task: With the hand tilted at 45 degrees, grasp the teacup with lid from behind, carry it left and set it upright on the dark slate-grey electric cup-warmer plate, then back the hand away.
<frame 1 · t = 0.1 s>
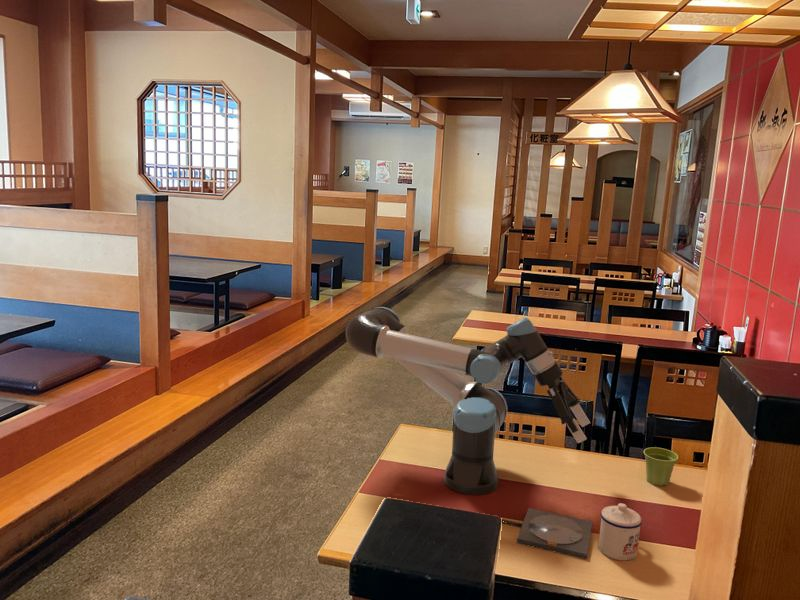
hand: (584, 432, 181), 15 cm above the table, tool tilted 35°, fingers open, 13 cm apart
teacup with lid: (619, 549, 151), on the table
cup warmer plate: (555, 534, 156), on the table
plant pot: (657, 482, 187), on the table
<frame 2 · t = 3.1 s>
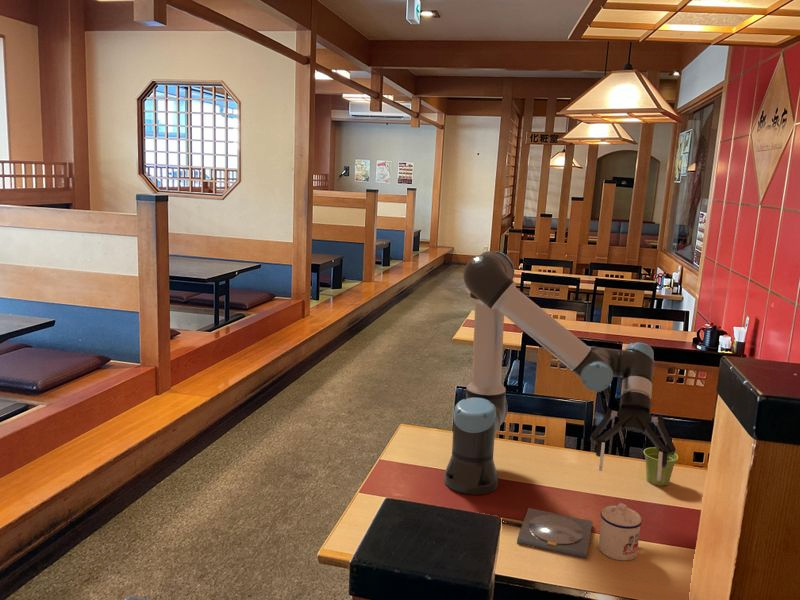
hand: (629, 473, 157), 15 cm above the table, tool tilted 45°, fingers open, 13 cm apart
nothing on the table moved.
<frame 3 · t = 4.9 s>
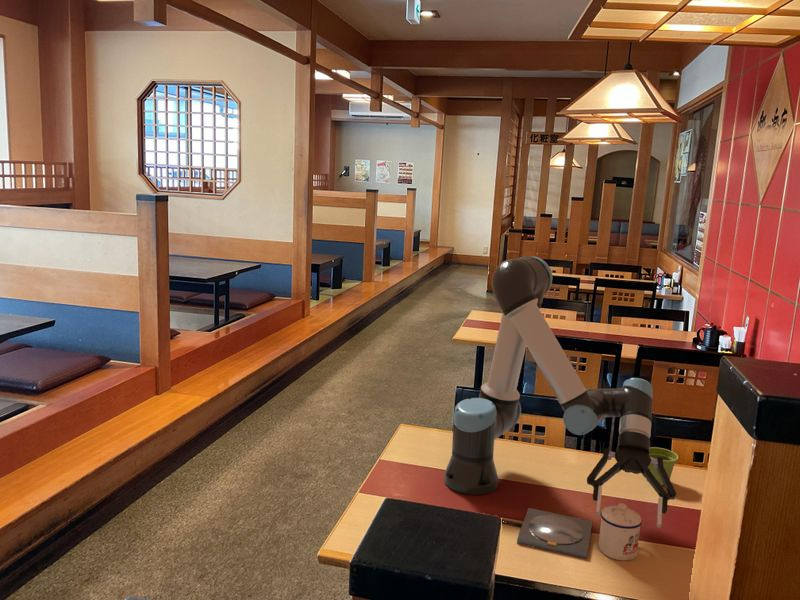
hand: (627, 520, 150), 7 cm above the table, tool tilted 45°, fingers open, 13 cm apart
nothing on the table moved.
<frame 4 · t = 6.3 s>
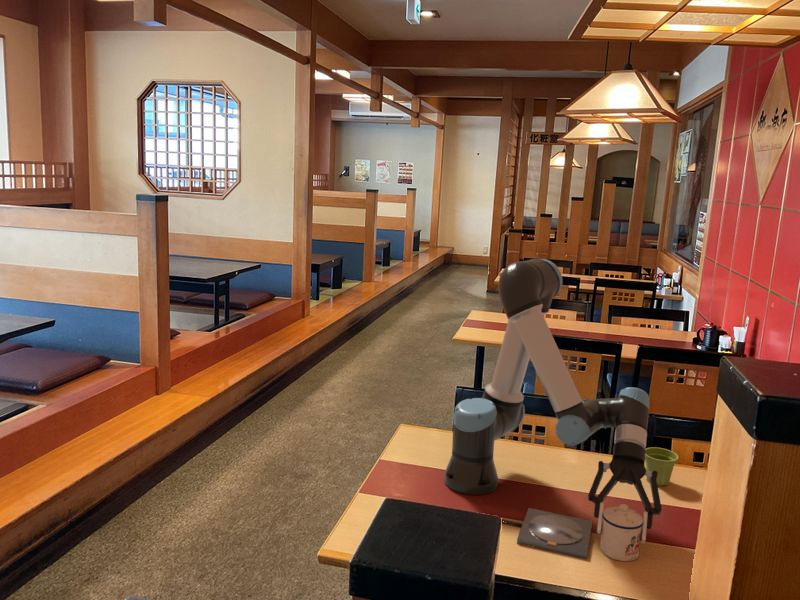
hand: (620, 536, 147), 5 cm above the table, tool tilted 45°, fingers closed on teacup with lid, 9 cm apart
teacup with lid: (621, 549, 151), on the table, touching gripper
everything else where it was.
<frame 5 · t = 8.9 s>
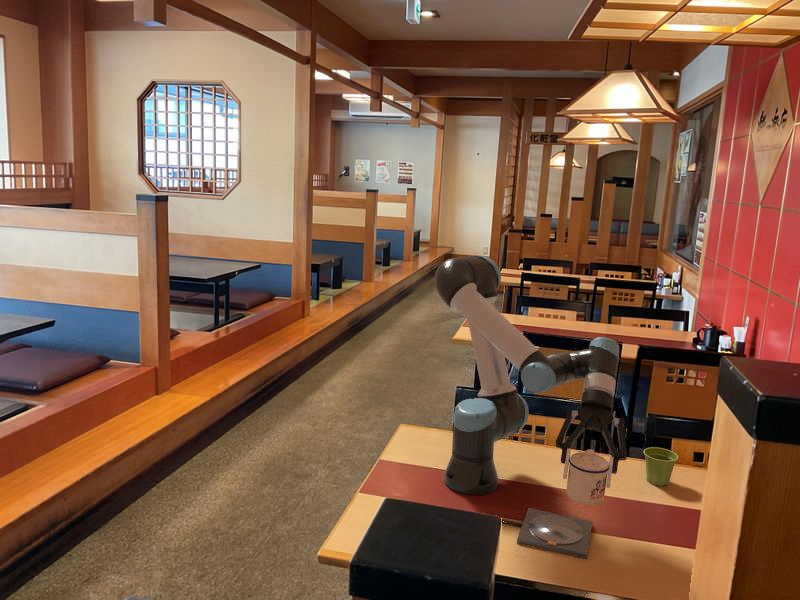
hand: (586, 481, 148), 17 cm above the table, tool tilted 45°, fingers closed on teacup with lid, 9 cm apart
teacup with lid: (587, 494, 152), point 12 cm above the table, touching gripper
everything else where it was.
when the fingers open (7 cm above the table, at t = 11.6 s): teacup with lid moves 1 cm, resting on cup warmer plate.
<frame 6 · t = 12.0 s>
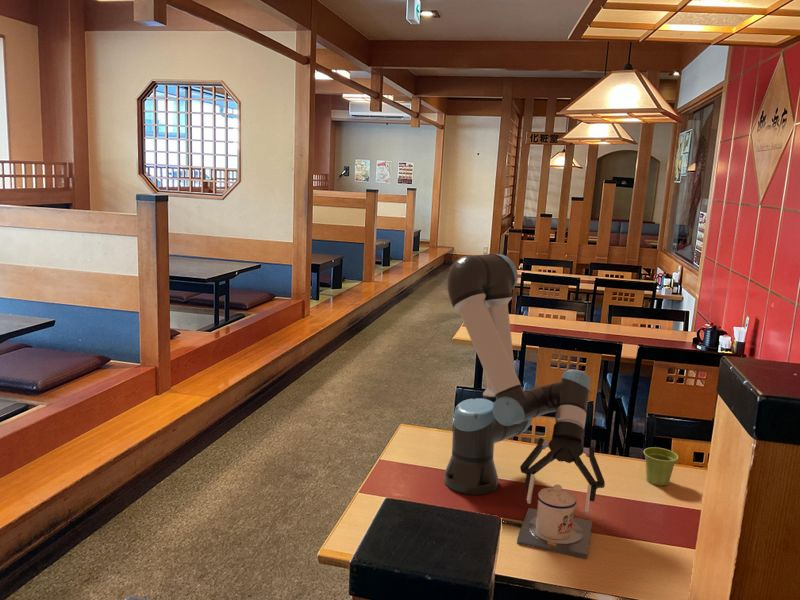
hand: (557, 507, 153), 8 cm above the table, tool tilted 45°, fingers open, 13 cm apart
teacup with lid: (556, 529, 156), point 1 cm above the table, touching cup warmer plate
everything else where it was.
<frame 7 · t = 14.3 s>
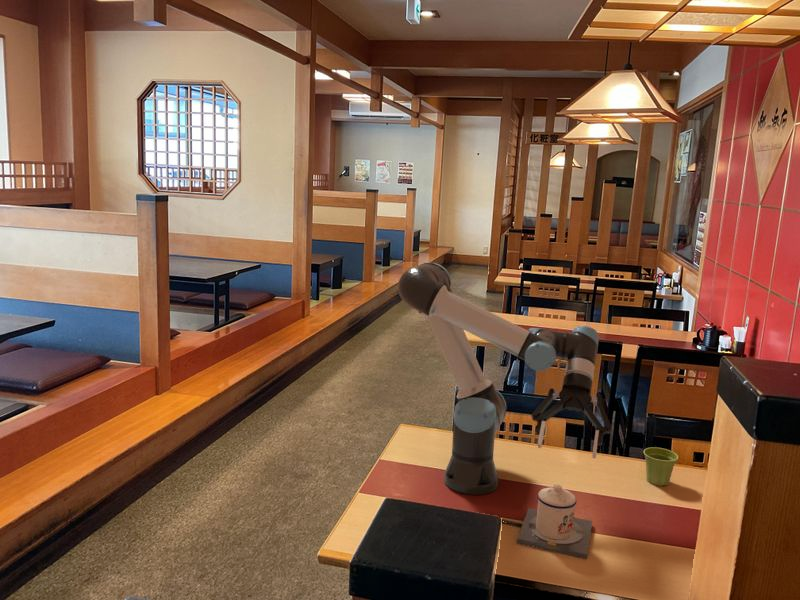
hand: (566, 451, 162), 18 cm above the table, tool tilted 45°, fingers open, 13 cm apart
nothing on the table moved.
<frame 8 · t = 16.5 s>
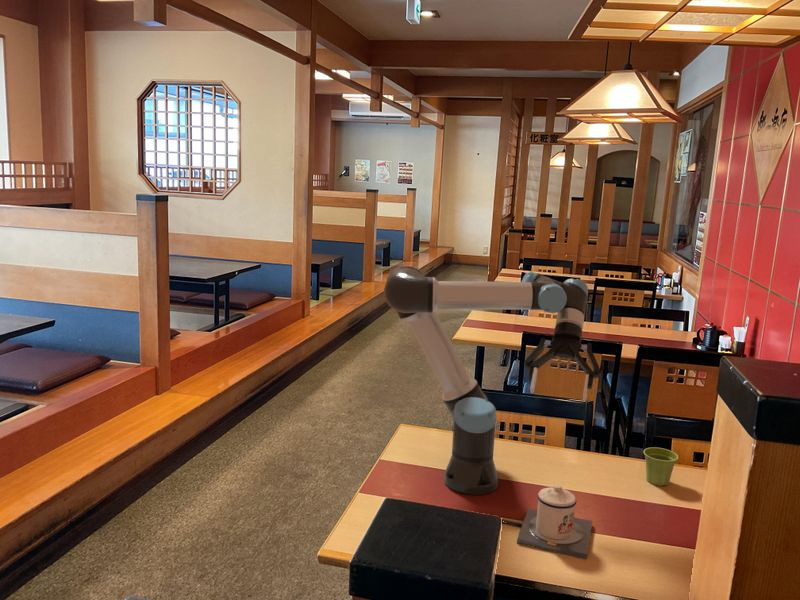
hand: (557, 394, 169), 30 cm above the table, tool tilted 45°, fingers open, 13 cm apart
nothing on the table moved.
at the end: teacup with lid inside the target area on the cup warmer plate (0.2 cm from its centre), point 1.3 cm above the cup warmer plate's base; teacup with lid tilted 0°; the gripper is holding nothing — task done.
